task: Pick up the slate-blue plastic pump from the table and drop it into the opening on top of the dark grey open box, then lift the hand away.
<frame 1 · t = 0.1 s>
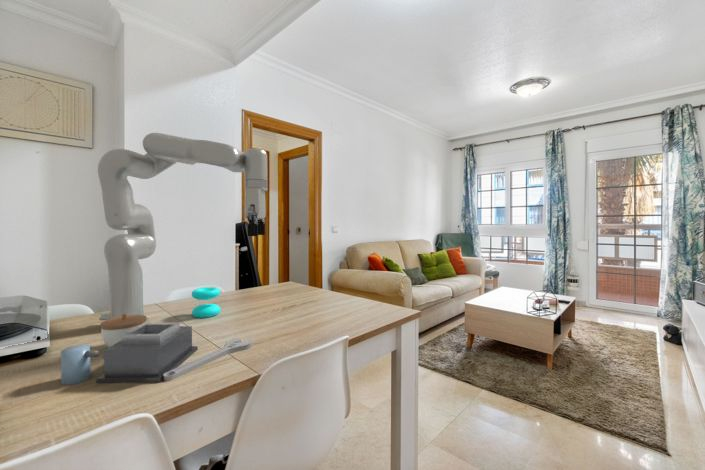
hand: (256, 235, 110), 31 cm above the table, tool pointing down, fingers open, 9 cm apart
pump: (76, 379, 72), on the table
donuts: (206, 315, 122), on the table
lidded jar: (125, 347, 91), on the table
grey open box: (152, 364, 79), on the table
adjustable wrench: (211, 360, 83), on the table, touching grey open box
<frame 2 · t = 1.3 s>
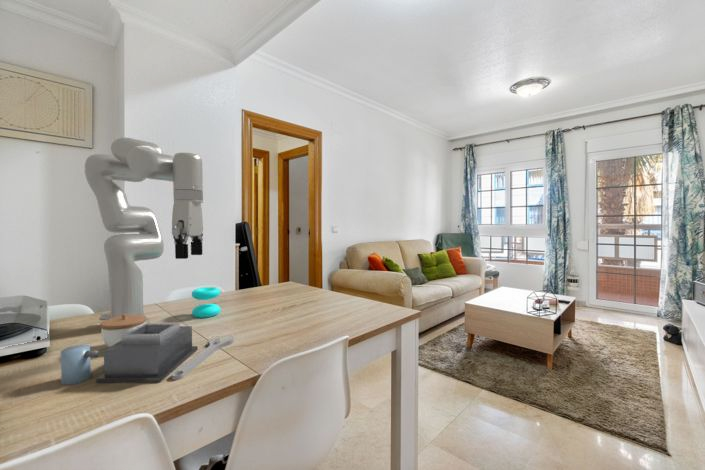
hand: (189, 256, 91), 26 cm above the table, tool pointing down, fingers open, 9 cm apart
adjustable wrench: (202, 358, 84), on the table
everything else where it was.
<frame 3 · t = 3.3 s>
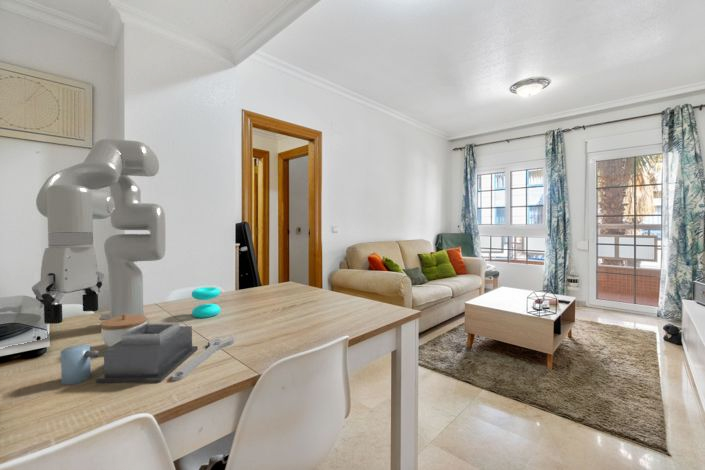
hand: (73, 316, 71), 15 cm above the table, tool pointing down, fingers open, 9 cm apart
nothing on the table moved.
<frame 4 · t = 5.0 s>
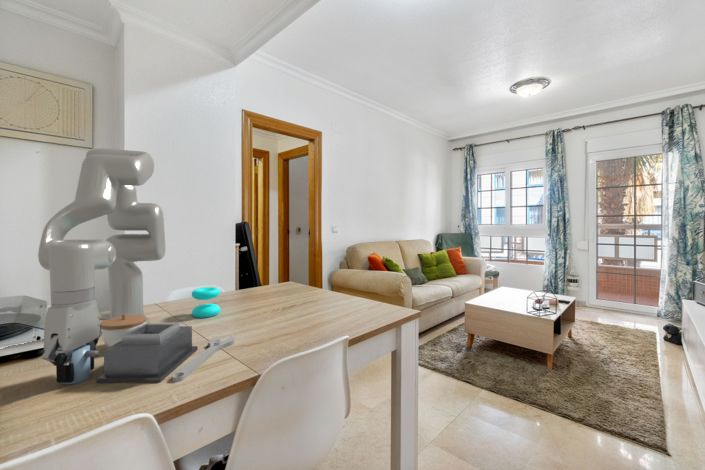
hand: (76, 374, 72), 1 cm above the table, tool pointing down, fingers closed on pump, 5 cm apart
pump: (76, 379, 72), on the table, touching gripper
everything else where it was.
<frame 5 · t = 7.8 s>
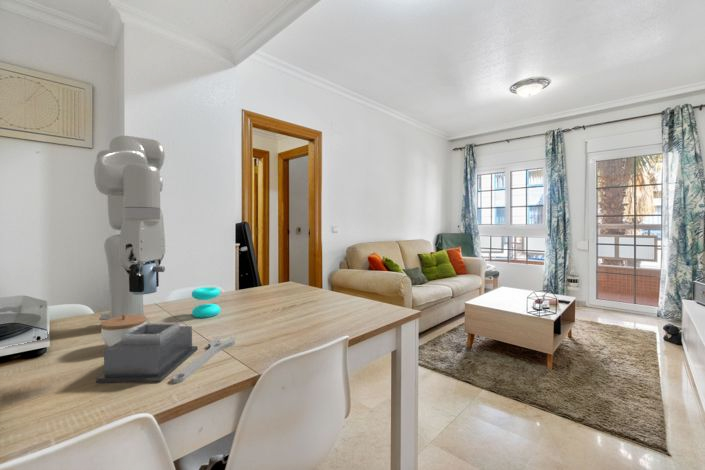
hand: (144, 288, 78), 19 cm above the table, tool pointing down, fingers closed on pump, 5 cm apart
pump: (144, 292, 78), point 18 cm above the table, touching gripper
when the fingers open (10 cm above the table, at t = 10.5 s): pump drops 2 cm, resting on grey open box.
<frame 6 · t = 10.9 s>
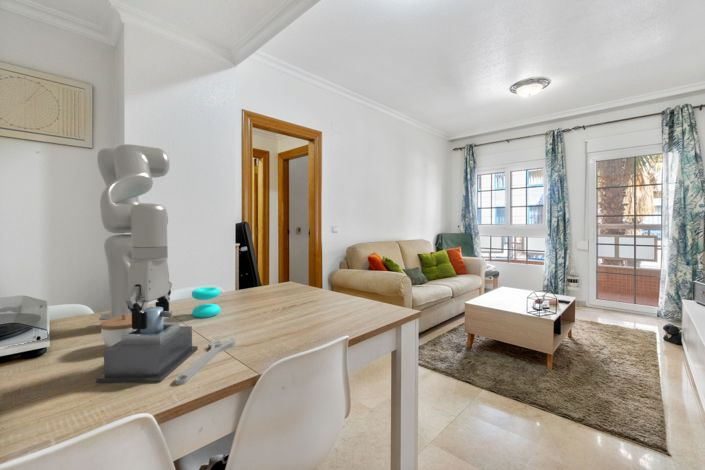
hand: (151, 322, 79), 11 cm above the table, tool pointing down, fingers open, 9 cm apart
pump: (152, 336, 79), point 7 cm above the table, touching grey open box
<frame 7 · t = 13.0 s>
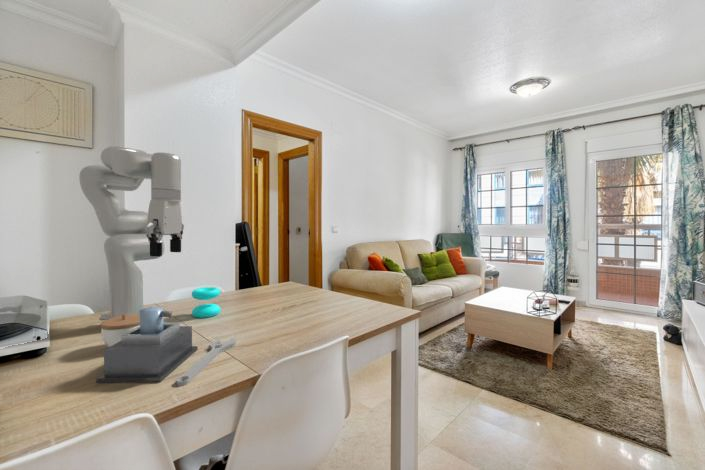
hand: (166, 254, 94), 26 cm above the table, tool pointing down, fingers open, 9 cm apart
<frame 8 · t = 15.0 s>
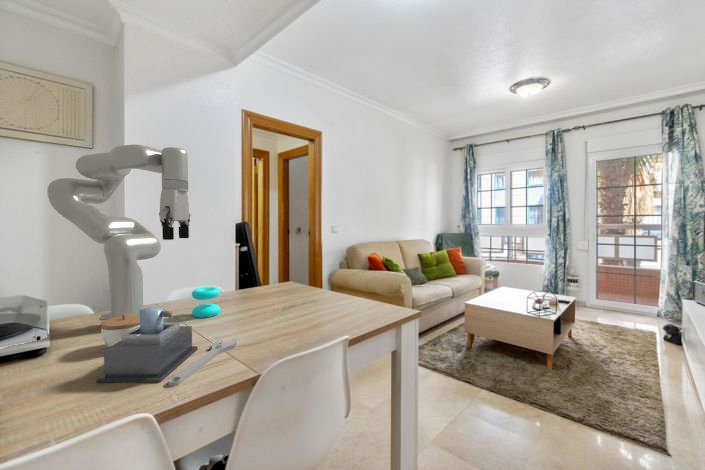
hand: (176, 238, 104), 30 cm above the table, tool pointing down, fingers open, 9 cm apart
at the end: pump 0.0 cm off-centre on the grey open box, point 7.0 cm above the grey open box's base; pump tilted 0°; the gripper is holding nothing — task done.
